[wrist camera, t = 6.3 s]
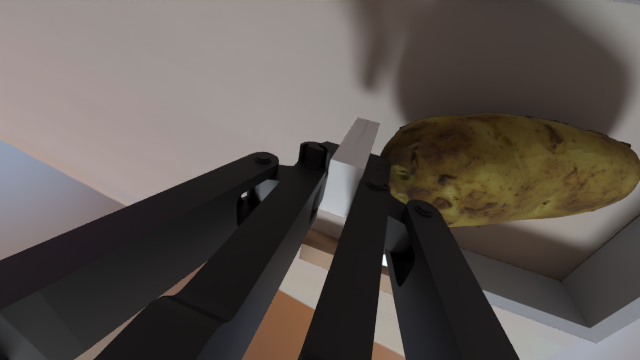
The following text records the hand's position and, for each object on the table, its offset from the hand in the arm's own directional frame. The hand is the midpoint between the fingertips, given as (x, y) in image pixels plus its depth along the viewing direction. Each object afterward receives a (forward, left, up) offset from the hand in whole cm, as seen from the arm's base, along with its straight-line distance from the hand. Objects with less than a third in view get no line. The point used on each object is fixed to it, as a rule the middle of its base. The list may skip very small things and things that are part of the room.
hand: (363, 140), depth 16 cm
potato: (0, +8, -4) cm, 9 cm away
